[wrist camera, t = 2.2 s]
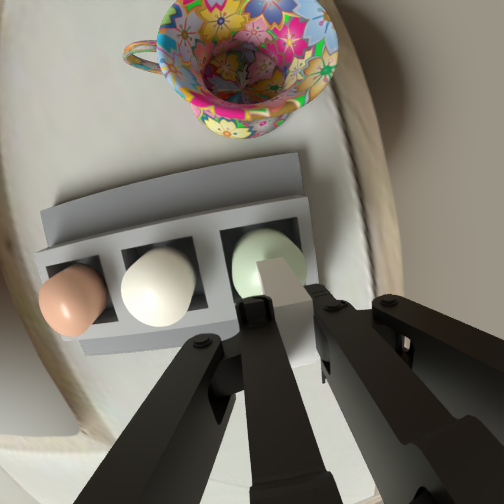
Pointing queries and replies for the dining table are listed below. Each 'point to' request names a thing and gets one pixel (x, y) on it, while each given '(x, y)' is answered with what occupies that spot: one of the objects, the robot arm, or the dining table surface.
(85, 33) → the dining table surface
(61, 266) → the panel
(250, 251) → the pale green rounded piece
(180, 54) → the mug
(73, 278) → the brown egg
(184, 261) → the white egg
